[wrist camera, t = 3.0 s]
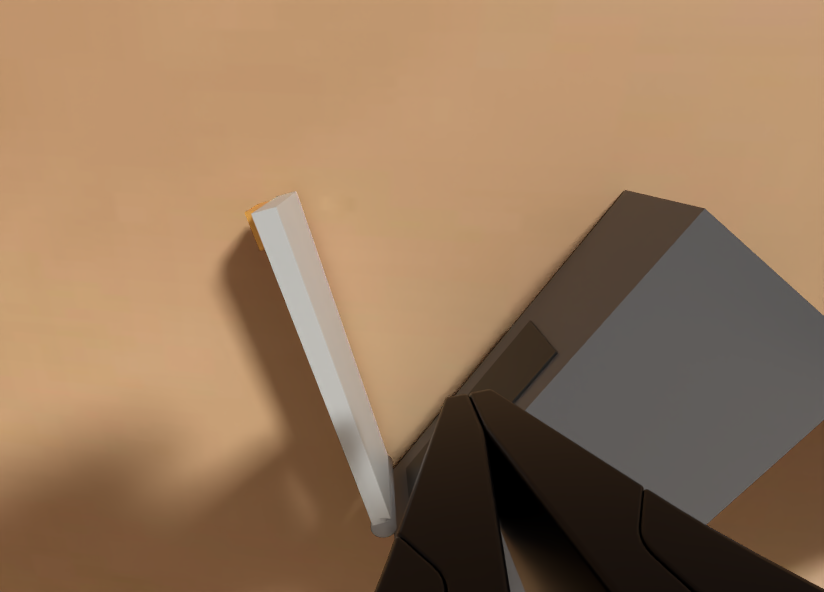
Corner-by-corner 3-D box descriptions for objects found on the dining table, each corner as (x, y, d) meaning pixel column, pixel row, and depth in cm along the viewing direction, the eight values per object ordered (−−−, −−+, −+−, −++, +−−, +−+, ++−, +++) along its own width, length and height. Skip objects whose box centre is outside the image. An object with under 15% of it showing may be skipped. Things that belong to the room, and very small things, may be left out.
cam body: (623, 188, 14) (717, 209, 10) (775, 318, 16) (900, 377, 12) (374, 489, 17) (375, 590, 13) (528, 564, 19) (566, 670, 16)
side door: (265, 199, 13) (236, 217, 10) (299, 190, 13) (279, 205, 10) (368, 475, 17) (367, 542, 14) (395, 468, 17) (399, 533, 14)
